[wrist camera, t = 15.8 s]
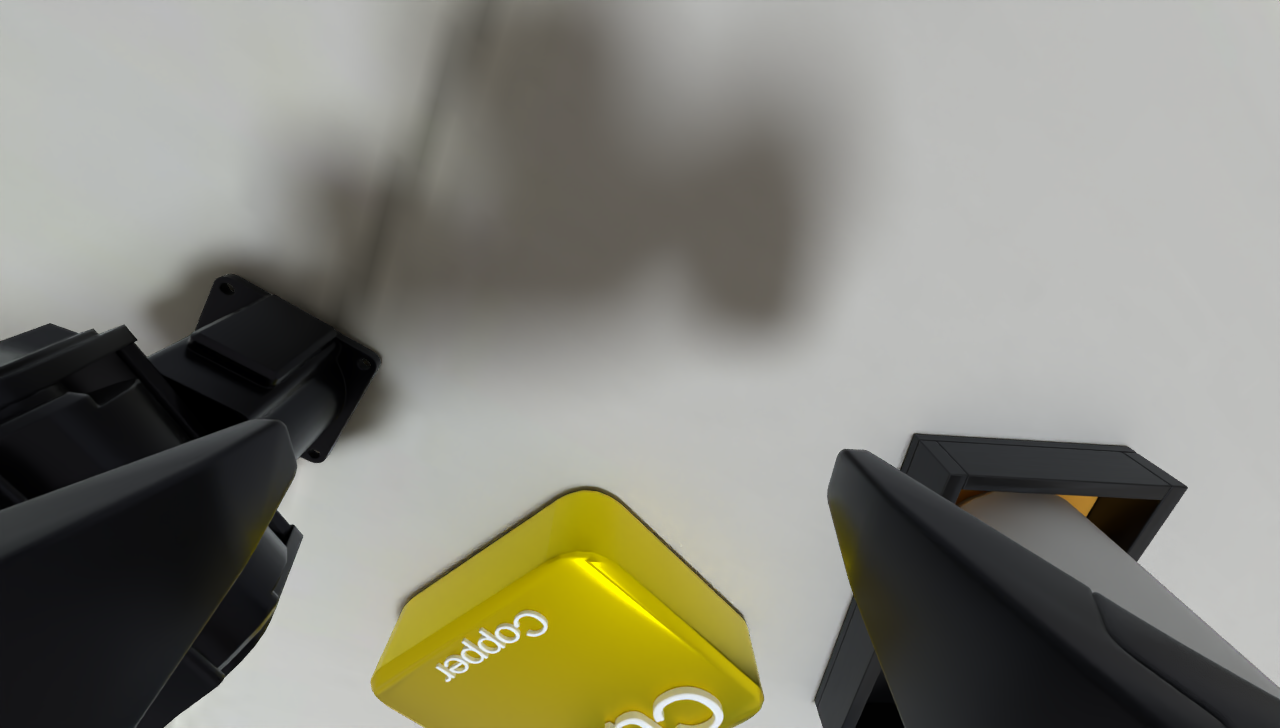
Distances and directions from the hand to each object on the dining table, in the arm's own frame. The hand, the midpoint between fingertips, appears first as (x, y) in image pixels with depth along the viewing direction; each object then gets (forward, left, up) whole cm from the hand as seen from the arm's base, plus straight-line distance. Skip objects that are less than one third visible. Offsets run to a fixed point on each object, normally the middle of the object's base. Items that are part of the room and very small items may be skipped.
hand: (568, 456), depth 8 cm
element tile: (-18, -11, -13) cm, 25 cm away
